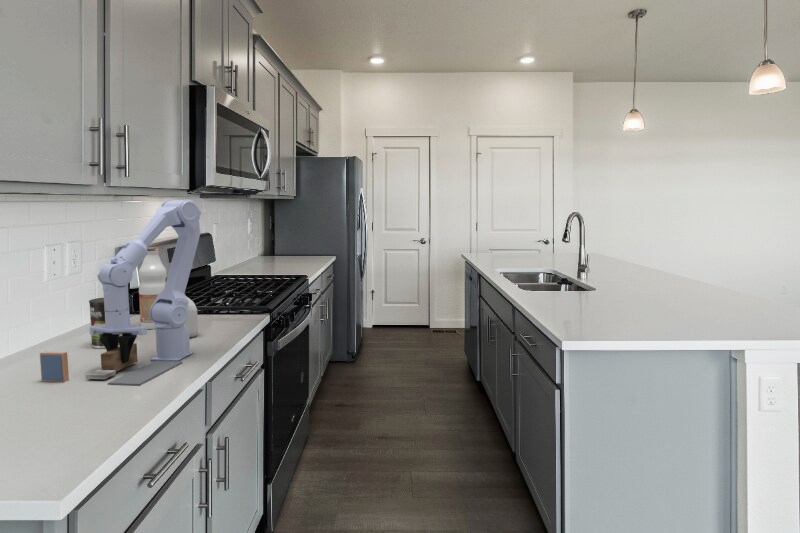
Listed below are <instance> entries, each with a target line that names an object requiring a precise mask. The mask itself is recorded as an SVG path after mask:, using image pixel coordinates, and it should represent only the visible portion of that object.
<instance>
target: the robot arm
mask: <svg viewBox="0 0 800 533" xmlns="http://www.w3.org/2000/svg"><path fill="white" fill-rule="evenodd" d="M201 214H202V212H201V210H200V208H199V206H198V204H197V203H196V202H195V201H194V200H192V199H188V198H187V199H181V200H180V199H178V200H177V199H176V200H175V199H174V200H173V199H166V200H164V201H163V202H162V203H161V205H160V206H158V207H157V208H156V210H155V214H154V215H153V216H152V217H151V219H150V220H149V222H147V225H146V226H145V227H144V228H143V229H142V231H141V232H140V233H139V235H138V236H137V237H136V239H131V240H127V241H125V242H123V243H122V245H121V247H122V248H120V250H119V251H118V252H117V254H116V255H115V256H113V257H111V258H110V262H107V263H105V264H104V265H102V267H101V268H100V269H99V273H98V274H96V276H97V279H98V281H99V283H101V285H102V291H103V298H104V309H105V325H106V326H92V327H91V326H89V335H94V334H103V335H102V337H100V341H101V342H102V343H103V345H104V346H105V348H104V349H105V350H106V352H107V351H110V350H113V349H115V348H118V342H119V346H120V350H121V360H122V363H126V362H128V361H129V357H130V352H131V349H132V346H133V343H135V341H136V339H137V338H138V336H144V335H147V334H148V332H147V330H148V329H147V327H143V326H141V325H133V324H132V325H131V320H130V319H131V315H130V301H129V283H130V282H131V281H132V280H133V275H134V274H133V272H134V271H135V270H136V269H137V267H138V266H139V265H140V264H142V263H141V262H143V260H144V258H145V257H146V255H147V254H148V252H147V248H149V246H150V245H151V244H152V243H153V242H154V241H155V240H156V239H157V238H158V237H159V236H160V235H161V233H162V232H163V231H165V230H166V228H168V227H171V228H172V229H174V231H175V233H176V235H177V236H178V237H177V241H176V244H175V248H174V251H173V256H172V259H171V263H170V266H169V269H168V274H167V276H166V279H165V281H166V284H165V288H164V290H163V291H162V292H161V293H160V294H158V295H157V297H156V301H155V302H154V304H153V305H152V306H151V308H150V312H149V315H150V318H151V320H152V321H153V322H154V323H155V327H156V329H155V344H156V348H155V349H156V355H155V356H153V357H152V358H150V361H180V360H182V359H184V358H187V357H188V356H190V355H192V354H193V351H191V350H190V349H191V346H190V345H191V344H190V337H189V330H188V328H187V327H186V326H185V325H184V323H185V322H186V320H187V318H188V303H189V301H188V300H187V298H186V297H187V295H186V294H185V293H186V290H187V289H186V288H187V285H188V282H189V277H190V274H191V270H192V267H193V263H194V259H195V255H196V252H197V248H198V244H199V240H200V236H201V228H200V219H201V218H200V217H201ZM185 295H186V296H185ZM120 334H122V336H120Z"/></svg>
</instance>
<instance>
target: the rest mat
mask: <svg viewBox="0 0 800 533" xmlns="http://www.w3.org/2000/svg"><path fill="white" fill-rule="evenodd" d="M183 363H184V362H183V361H180V360H178V361H154V360H152V361H151V362H149V363H147V364H144V365H142V366H141V367H138V368H137V369H134V370H132V371H130V372H128V373H126V374H123V375H122V376H120V377H117V378H115V379H113V380H111V381H109V382H107V385H109V384H111V385H109V386H136V385H140V386H142V385H144V384H146V383H147V381H148V382H149V381H151V380H154V379H155V378H157V377H159V376H161V375H163V374H165V373H166V372H169V371H170V370H172V369H174V368H176V367H178V366H179V365H182V364H183ZM145 382H146V383H145ZM143 383H144V384H143ZM141 384H142V385H141Z"/></svg>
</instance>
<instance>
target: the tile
mask: <svg viewBox="0 0 800 533" xmlns="http://www.w3.org/2000/svg"><path fill="white" fill-rule="evenodd" d="M68 361H69V360H68V351H41V352H39V362H40V363H39V364H40V376H41V382H48V383H49V382H51V383H52V382H55V383H58V382H59V383H65V381H66V382H68V381H69V380H70V377H69V374H70V373H69V362H68ZM67 380H68V381H67Z"/></svg>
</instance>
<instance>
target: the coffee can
mask: <svg viewBox="0 0 800 533" xmlns="http://www.w3.org/2000/svg"><path fill="white" fill-rule="evenodd" d="M88 303H89V316H90V327H92V326H106V325H105V309H104V297H98V298H93V299H90V300H88ZM102 335H103V334H94V335H91V336H90V337H91V348H94V349H106V348H105V346H104V345H103V343H102V342H101V341H100V337H102ZM120 336H122V334H120ZM118 347H120V346H119V342H118Z"/></svg>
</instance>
